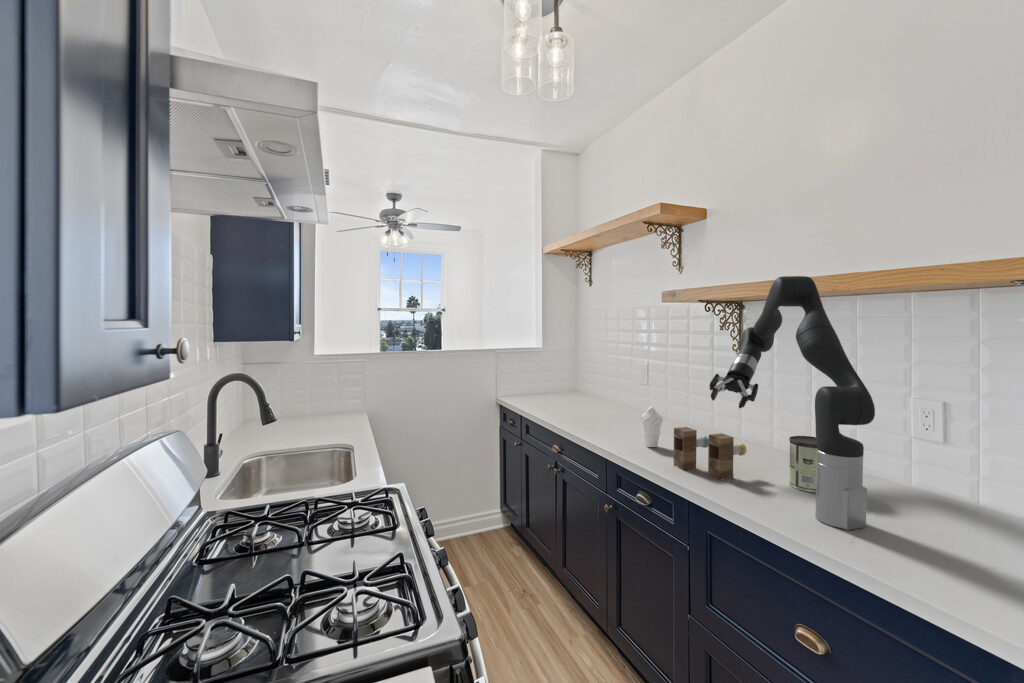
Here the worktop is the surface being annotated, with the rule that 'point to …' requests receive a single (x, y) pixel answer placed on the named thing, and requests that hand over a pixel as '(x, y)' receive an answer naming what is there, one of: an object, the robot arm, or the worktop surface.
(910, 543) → the worktop surface
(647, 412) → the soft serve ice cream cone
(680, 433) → the walnut box
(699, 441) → the teal button
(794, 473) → the coffee can
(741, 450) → the ochre button
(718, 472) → the walnut box
